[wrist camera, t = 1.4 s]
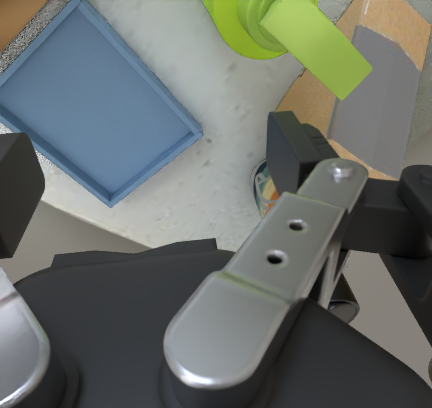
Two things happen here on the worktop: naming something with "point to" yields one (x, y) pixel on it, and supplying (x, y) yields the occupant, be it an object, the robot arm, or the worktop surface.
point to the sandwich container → (370, 88)
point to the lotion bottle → (342, 295)
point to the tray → (93, 105)
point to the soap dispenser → (291, 38)
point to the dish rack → (16, 18)
